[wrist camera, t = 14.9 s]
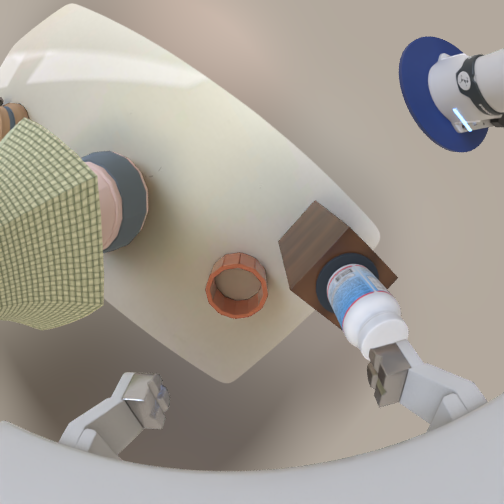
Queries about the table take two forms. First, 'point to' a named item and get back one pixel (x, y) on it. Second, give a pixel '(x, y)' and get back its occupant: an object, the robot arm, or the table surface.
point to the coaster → (333, 267)
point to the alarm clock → (10, 116)
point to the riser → (322, 253)
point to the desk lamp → (61, 225)
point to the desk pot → (229, 305)
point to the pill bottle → (365, 309)
